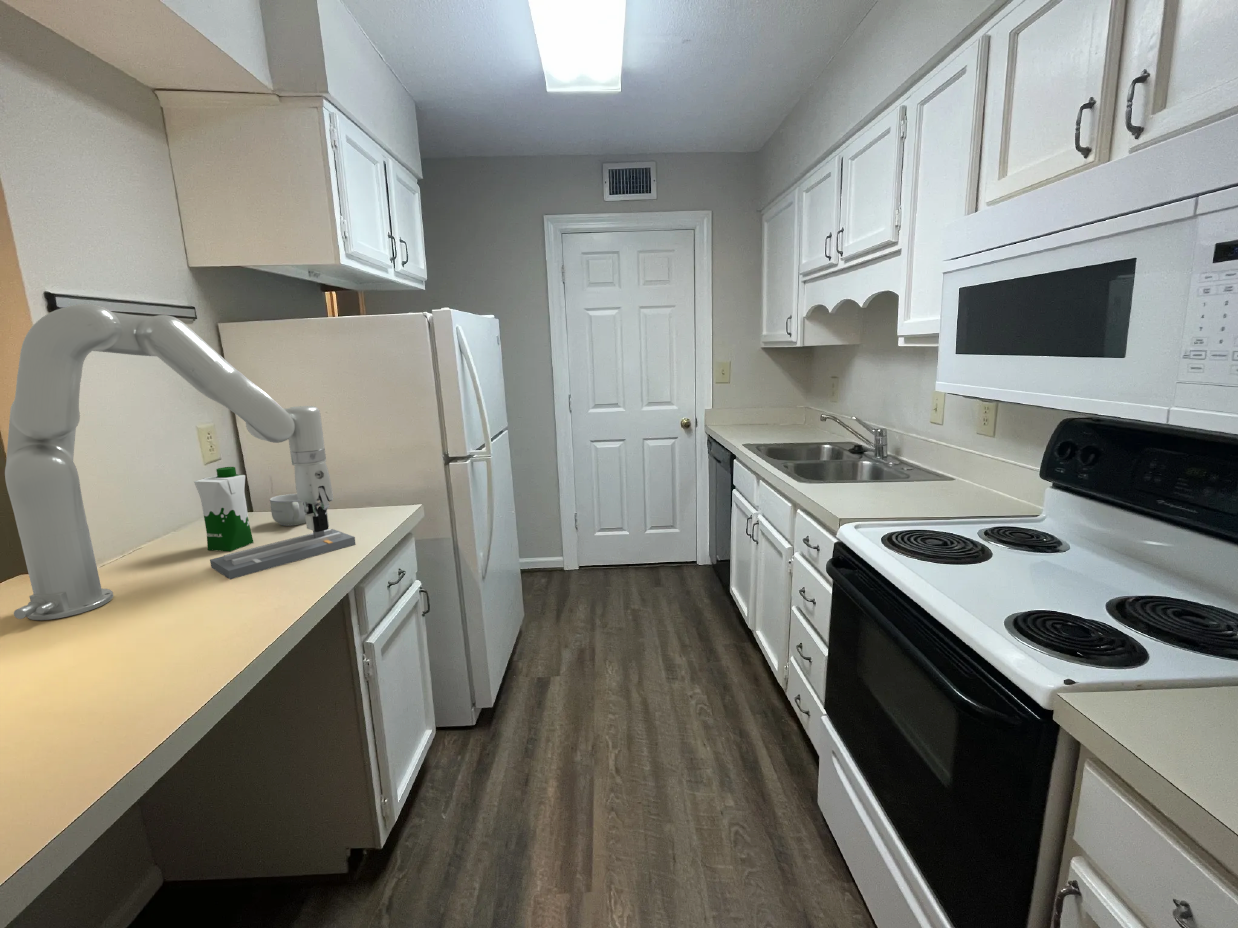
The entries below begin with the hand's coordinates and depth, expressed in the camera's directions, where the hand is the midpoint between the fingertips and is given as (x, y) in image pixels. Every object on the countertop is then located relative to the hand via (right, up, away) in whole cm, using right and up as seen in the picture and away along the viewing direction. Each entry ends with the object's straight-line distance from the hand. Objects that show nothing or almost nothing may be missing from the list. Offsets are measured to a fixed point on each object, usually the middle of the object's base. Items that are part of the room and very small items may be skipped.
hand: (317, 528), depth 147 cm
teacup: (-18, -1, +21) cm, 28 cm away
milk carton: (-24, -5, +3) cm, 25 cm away
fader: (0, -2, +1) cm, 3 cm away
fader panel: (-5, -6, -5) cm, 9 cm away
